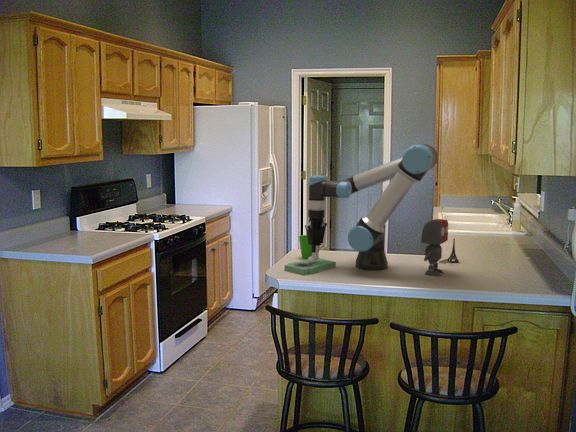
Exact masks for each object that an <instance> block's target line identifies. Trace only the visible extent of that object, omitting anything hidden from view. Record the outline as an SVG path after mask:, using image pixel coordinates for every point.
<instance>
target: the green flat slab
mask: <svg viewBox="0 0 576 432" xmlns="http://www.w3.org/2000/svg"><path fill="white" fill-rule="evenodd" d="M336 267H337V261H333V260H330V259H325V258H318V260H315V261H314V263H309V262H308V259H304V260H301V261H293V262H289V263H287V264H285V265H284V271H285V272H290V273H293V274H297V275H301V276H306V275H313V274H316V273H320V272H321V271H322V272H323V271H326V270H329V269H333V268H336Z"/></svg>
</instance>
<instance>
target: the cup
mask: <svg viewBox="0 0 576 432" xmlns="http://www.w3.org/2000/svg"><path fill="white" fill-rule="evenodd" d="M298 239H299V245H300V253H301V258H302V259H303V260H308V258H309V257H310V256H312V246H311V245H309V244H308V238H307V234H302V235H298Z"/></svg>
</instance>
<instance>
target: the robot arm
mask: <svg viewBox="0 0 576 432" xmlns="http://www.w3.org/2000/svg"><path fill="white" fill-rule="evenodd" d="M437 162H438V152H437V151H436V149H435V147H433V146H432V145H429V144H426V143H425V144H419V143H418V144H414V145H411V146H410V147H408V148H407V149H406V150H405V151H404V152H403V155H402V157H399V158H396V159H394V160H392V161H389V162H385V163H384V164H381V165H378V166H376V167H374V168H372V169H368V170H366V171H362V172H361V173H358V174H355V175H352V176H350V177H347V178H345V179H341V180H327V179H326V176H325V175H317V174H316V175H310V176H309V180H308V212H307V217H308V223H307V224H305V225H304V228H305V230H306V235H307V238H308V244H309V245H311V246H312V256H313V257H314V258H315V260H318V258H319V255H320V254H319V253H320V246H322V244H323V243H324V238H325V233H326V228H327V225H328V222H324V218H325V213H326V211H325V209H326V205H325V204H326V198H333V199H334V198H335V199H341V200H342V199H349V198H350V197H351V195H353V194H356V193H358V192H360V191H363V190H365V189H368V188H371V187H375V186H377V185H379V184H382V183H384V182H387V181H390V182H389V184H388V185H387V186H386V187H385V189H384V191H383V192H382V194H380V196H379V198H378V199H377V200H376V202H374V204H373V206H372V207H371V209H370V210H369V212H368V213H367V214H366V215H362V216H361V217H360V219H359V220H358V221H357V223H356V224H355V226H353V227H352V228H350V230H349V231H348V234H347V241H348V244H349V246H350V248H352V249H353V250H355V251H356V252H358V253H357V256H356V259H355V267H356V268H358V269H361V270H368V271H381V270H385V269H387V268H388V266H389V261H388V259H387V254H386V252H385V251H386V249H385V247H386V246H385V245H386V244H385V243H386V228H387V227H386V226H387V225H386V223H387V222H388V220H389V219H390V218H391V216H392V215H393V214H394V213H395V211H396V209H397V208H398V207H399V205H400V204H401V203H402V201H403V200H404V198H405V197H406V195H407V194H408V193H409V191H410V190H411V188H412V187H413V186H414V184H416V183H418V182H419V183H420V182H421V181H422V180H423V179H424V177H425V175H426V174H427V173H428V172H429V171H430V170H432V169H433V168H434V167H435V166H436V164H437Z"/></svg>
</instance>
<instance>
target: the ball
mask: <svg viewBox="0 0 576 432" xmlns="http://www.w3.org/2000/svg"><path fill="white" fill-rule="evenodd" d="M307 260H308V262H309V263H314V261H315V258H314V257H313V256H310V257H309V258H308V259H307Z"/></svg>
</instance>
